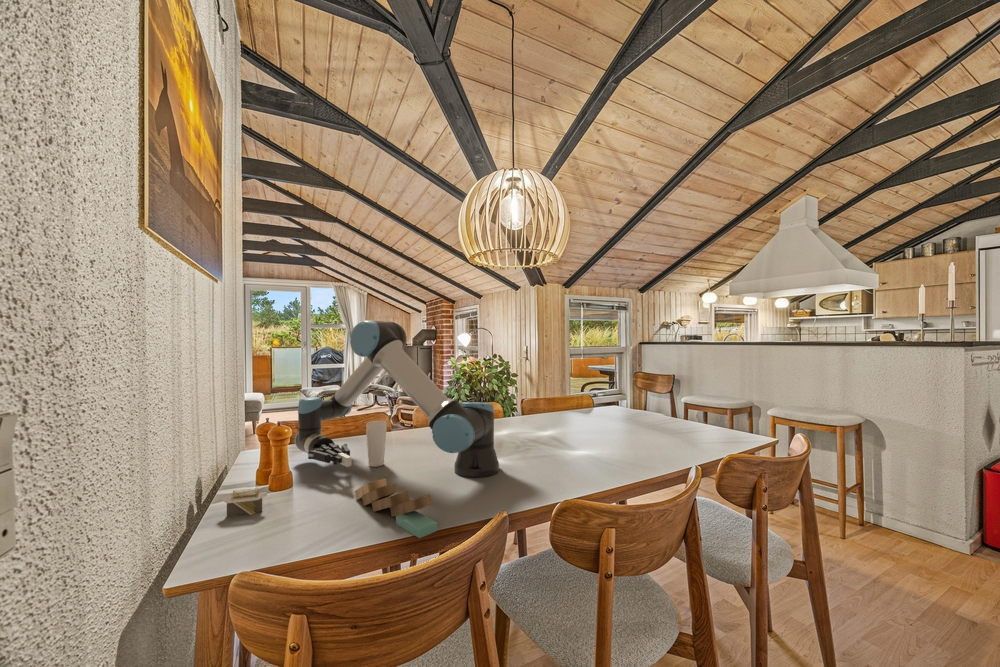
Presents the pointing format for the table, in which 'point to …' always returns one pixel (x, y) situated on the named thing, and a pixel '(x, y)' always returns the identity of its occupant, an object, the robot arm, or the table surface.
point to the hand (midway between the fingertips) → (349, 462)
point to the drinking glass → (376, 442)
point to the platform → (244, 502)
